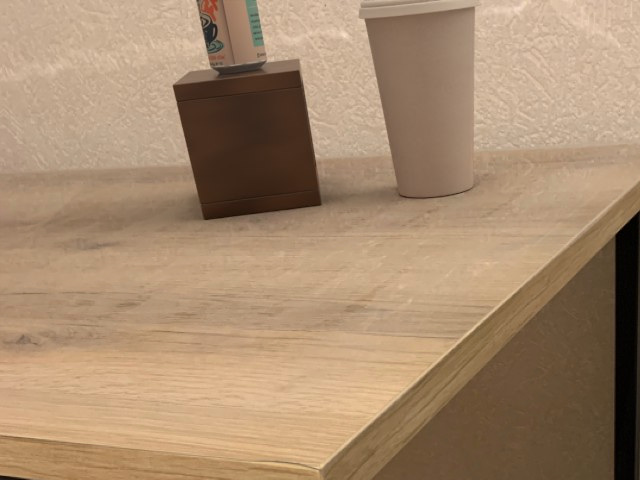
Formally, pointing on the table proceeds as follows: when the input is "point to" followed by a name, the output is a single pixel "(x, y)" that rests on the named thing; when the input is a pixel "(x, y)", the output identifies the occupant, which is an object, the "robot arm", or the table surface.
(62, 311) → the table surface
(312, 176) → the wooden lidded box
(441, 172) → the coffee cup
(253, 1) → the beer can
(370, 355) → the table surface
